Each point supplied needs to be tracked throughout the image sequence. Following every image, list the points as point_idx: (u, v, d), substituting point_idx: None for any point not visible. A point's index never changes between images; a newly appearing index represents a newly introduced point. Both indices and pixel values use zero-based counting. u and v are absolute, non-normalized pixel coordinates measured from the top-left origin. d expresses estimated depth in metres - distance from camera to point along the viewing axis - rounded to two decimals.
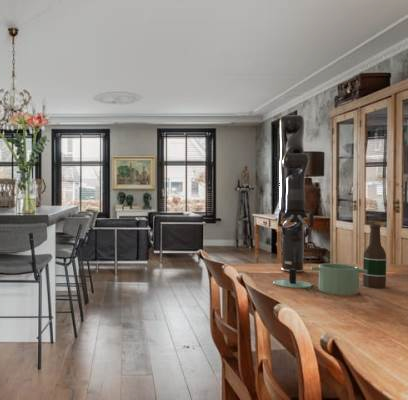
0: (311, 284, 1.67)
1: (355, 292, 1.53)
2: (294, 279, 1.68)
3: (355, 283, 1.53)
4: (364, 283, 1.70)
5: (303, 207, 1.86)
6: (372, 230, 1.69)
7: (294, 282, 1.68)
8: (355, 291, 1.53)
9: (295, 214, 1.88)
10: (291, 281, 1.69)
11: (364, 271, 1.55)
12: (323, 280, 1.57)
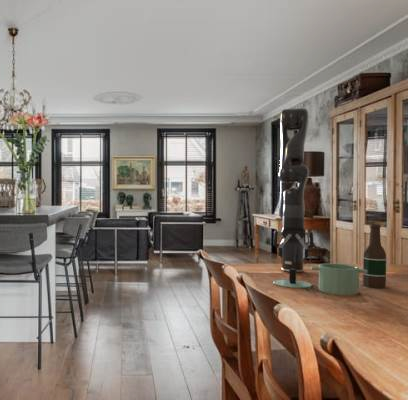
0: (311, 284, 1.67)
1: (355, 292, 1.53)
2: (294, 279, 1.68)
3: (355, 283, 1.53)
4: (364, 283, 1.70)
5: (302, 225, 1.66)
6: (372, 230, 1.69)
7: (294, 282, 1.68)
8: (355, 291, 1.53)
9: (293, 233, 1.68)
10: (291, 281, 1.69)
11: (364, 271, 1.55)
12: (323, 280, 1.57)
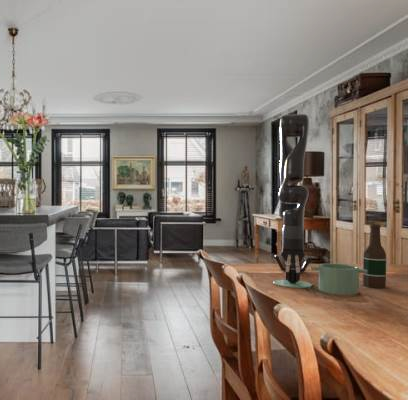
0: (311, 284, 1.67)
1: (355, 292, 1.53)
2: (294, 279, 1.68)
3: (355, 283, 1.53)
4: (364, 283, 1.70)
5: (301, 247, 1.66)
6: (372, 230, 1.69)
7: (294, 282, 1.68)
8: (355, 291, 1.53)
9: (293, 254, 1.68)
10: (291, 281, 1.69)
11: (364, 271, 1.55)
12: (323, 280, 1.57)
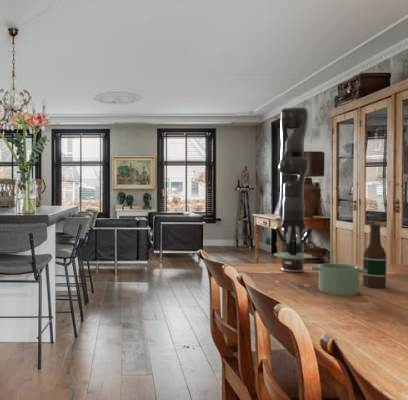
0: (311, 255, 1.67)
1: (355, 292, 1.53)
2: (294, 251, 1.68)
3: (355, 283, 1.53)
4: (364, 283, 1.70)
5: (302, 218, 1.66)
6: (372, 230, 1.69)
7: (294, 253, 1.68)
8: (355, 291, 1.53)
9: (293, 225, 1.68)
10: (291, 253, 1.69)
11: (364, 271, 1.55)
12: (323, 280, 1.57)
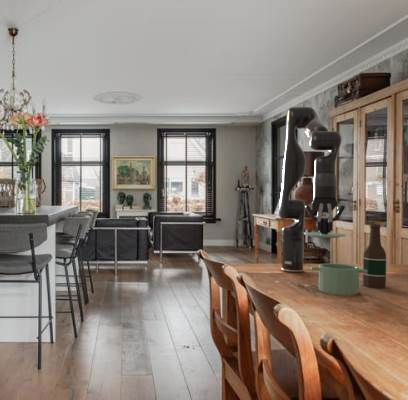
0: (344, 234, 1.59)
1: (355, 292, 1.53)
2: (326, 229, 1.60)
3: (355, 283, 1.53)
4: (364, 283, 1.70)
5: (334, 194, 1.58)
6: (372, 230, 1.69)
7: (326, 232, 1.60)
8: (355, 291, 1.53)
9: (325, 203, 1.60)
10: (323, 231, 1.61)
11: (364, 271, 1.55)
12: (323, 280, 1.57)
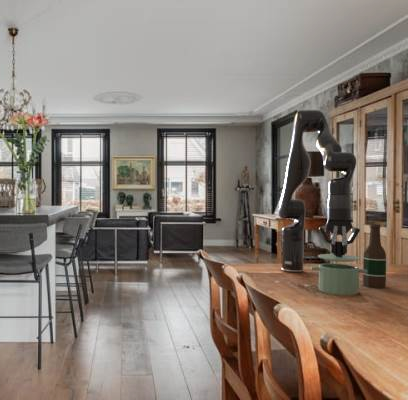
0: (359, 257, 1.56)
1: (355, 292, 1.53)
2: (341, 252, 1.57)
3: (355, 283, 1.53)
4: (364, 283, 1.70)
5: (349, 217, 1.55)
6: (372, 230, 1.69)
7: (341, 255, 1.57)
8: (355, 291, 1.53)
9: (339, 225, 1.57)
10: (337, 254, 1.58)
11: (364, 271, 1.55)
12: (323, 280, 1.57)
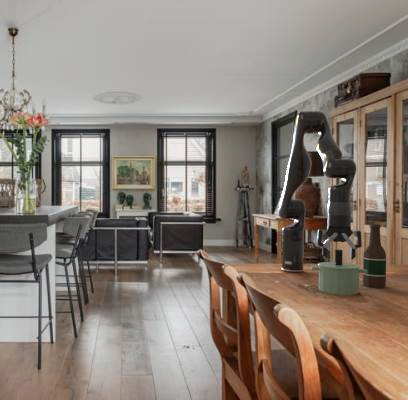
0: (359, 266, 1.56)
1: (355, 292, 1.53)
2: (341, 260, 1.58)
3: (355, 283, 1.53)
4: (364, 283, 1.70)
5: (349, 224, 1.55)
6: (372, 230, 1.69)
7: (341, 264, 1.58)
8: (355, 291, 1.53)
9: (339, 232, 1.57)
10: (337, 263, 1.58)
11: (364, 271, 1.55)
12: (323, 280, 1.57)
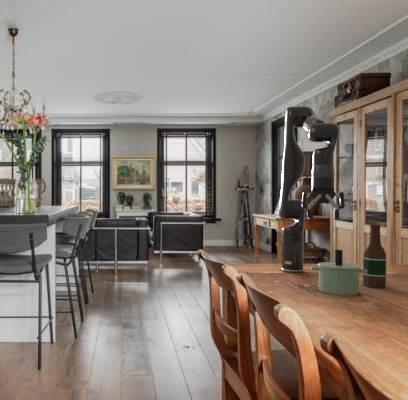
0: (359, 266, 1.56)
1: (355, 292, 1.53)
2: (341, 260, 1.58)
3: (355, 283, 1.53)
4: (364, 283, 1.70)
5: (332, 185, 1.61)
6: (372, 230, 1.69)
7: (341, 264, 1.58)
8: (355, 291, 1.53)
9: (323, 194, 1.63)
10: (337, 263, 1.58)
11: (364, 271, 1.55)
12: (323, 280, 1.57)
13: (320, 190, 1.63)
